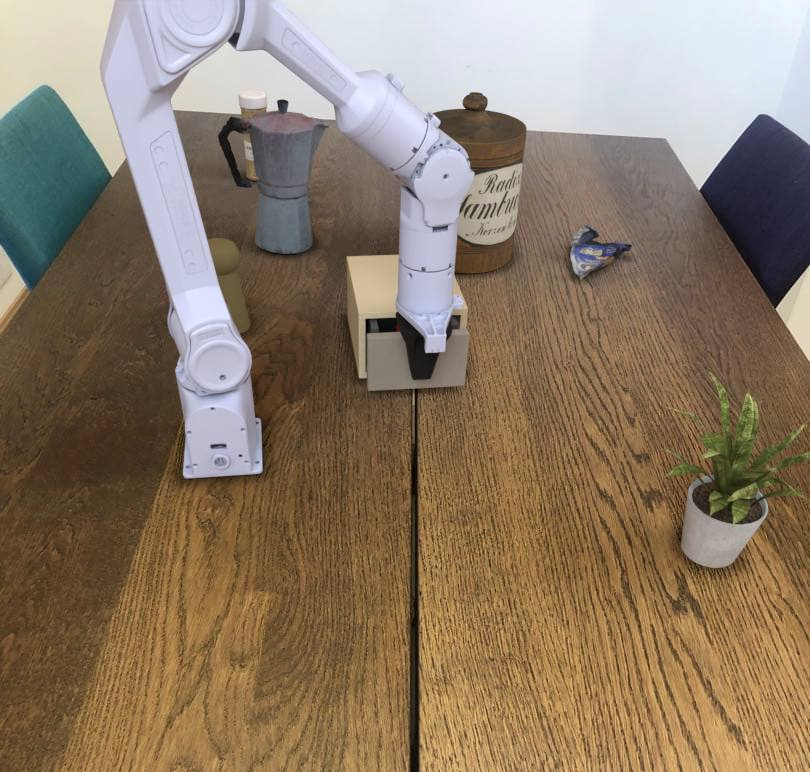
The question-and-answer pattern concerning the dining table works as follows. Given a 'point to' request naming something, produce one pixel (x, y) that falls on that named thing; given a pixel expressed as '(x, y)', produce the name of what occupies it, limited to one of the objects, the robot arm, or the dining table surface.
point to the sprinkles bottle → (249, 106)
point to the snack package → (593, 251)
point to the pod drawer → (392, 360)
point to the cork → (230, 280)
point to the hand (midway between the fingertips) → (420, 376)
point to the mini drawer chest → (377, 298)
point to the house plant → (730, 486)
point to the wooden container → (486, 182)
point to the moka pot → (279, 174)
